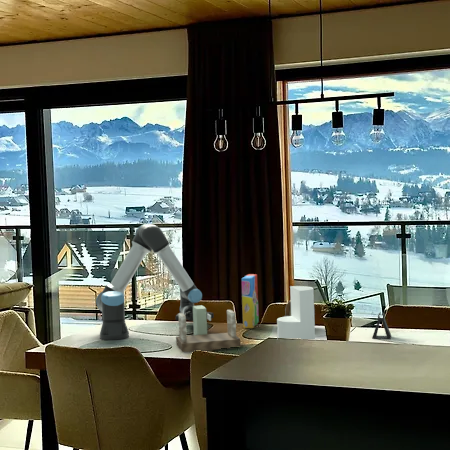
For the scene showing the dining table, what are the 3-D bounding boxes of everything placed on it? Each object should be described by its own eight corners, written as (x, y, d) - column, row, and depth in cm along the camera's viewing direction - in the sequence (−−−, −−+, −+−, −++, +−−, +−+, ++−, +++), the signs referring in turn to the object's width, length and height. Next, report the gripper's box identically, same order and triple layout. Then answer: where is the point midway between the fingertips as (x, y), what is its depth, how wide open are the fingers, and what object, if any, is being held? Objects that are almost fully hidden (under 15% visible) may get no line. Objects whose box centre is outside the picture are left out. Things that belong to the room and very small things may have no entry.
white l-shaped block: (309, 343, 360) (307, 285, 358) (319, 350, 342) (317, 289, 341) (274, 345, 357) (272, 287, 356) (282, 353, 340) (280, 291, 339)
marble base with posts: (182, 352, 351) (180, 318, 350) (176, 344, 368) (175, 312, 367) (240, 347, 356) (239, 313, 356) (232, 340, 374) (231, 308, 373)
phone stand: (372, 338, 365) (371, 314, 365) (372, 336, 371) (372, 312, 371) (390, 339, 363) (390, 314, 362) (391, 336, 369) (390, 312, 368)
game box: (252, 328, 403) (251, 278, 402) (242, 328, 404) (241, 278, 403) (258, 321, 424) (257, 273, 422) (249, 321, 425) (247, 273, 424)
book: (197, 340, 376) (196, 309, 375) (193, 336, 387) (192, 305, 386) (207, 340, 377) (206, 308, 376) (203, 336, 388) (202, 305, 387)
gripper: (213, 318, 414) (221, 324, 393) (168, 321, 408) (173, 328, 388) (212, 304, 413) (220, 310, 393) (167, 307, 408) (173, 313, 387)
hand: (197, 319), depth 390 cm, fingers open, 13 cm apart
